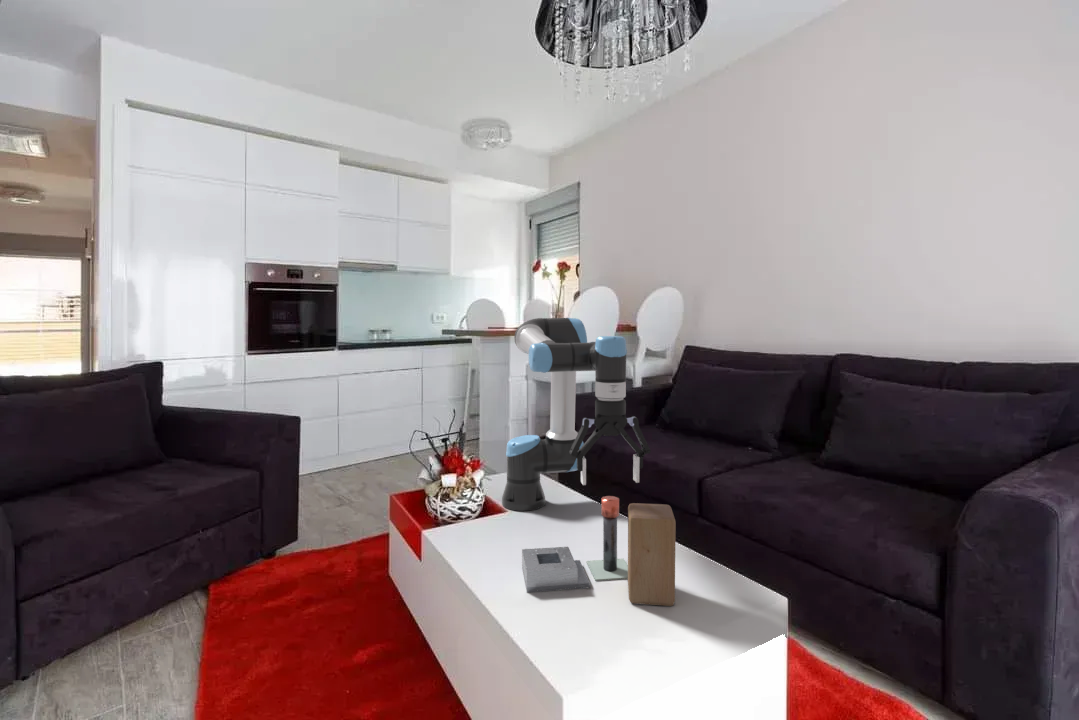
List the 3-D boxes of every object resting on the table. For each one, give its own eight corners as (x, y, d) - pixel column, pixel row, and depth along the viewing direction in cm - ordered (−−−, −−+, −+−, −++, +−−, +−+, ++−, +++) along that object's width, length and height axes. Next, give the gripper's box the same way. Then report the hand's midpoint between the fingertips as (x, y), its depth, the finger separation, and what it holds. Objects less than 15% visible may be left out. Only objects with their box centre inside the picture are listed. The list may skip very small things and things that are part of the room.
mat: (586, 562, 135) (586, 560, 135) (623, 559, 136) (623, 558, 136) (595, 581, 125) (595, 579, 125) (635, 578, 126) (635, 576, 126)
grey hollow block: (522, 568, 131) (521, 549, 131) (579, 564, 133) (579, 545, 133) (526, 592, 120) (526, 571, 119) (590, 587, 121) (590, 567, 121)
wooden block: (628, 605, 114) (629, 516, 113) (627, 582, 124) (628, 501, 122) (675, 608, 112) (676, 519, 111) (670, 585, 122) (671, 503, 121)
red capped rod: (603, 573, 128) (603, 502, 127) (599, 565, 132) (599, 496, 131) (621, 572, 128) (621, 501, 127) (616, 564, 133) (616, 495, 131)
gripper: (563, 402, 122) (563, 489, 124) (664, 399, 125) (663, 484, 127) (558, 397, 130) (558, 479, 131) (653, 395, 133) (652, 475, 134)
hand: (609, 482), depth 129 cm, fingers open, 13 cm apart
